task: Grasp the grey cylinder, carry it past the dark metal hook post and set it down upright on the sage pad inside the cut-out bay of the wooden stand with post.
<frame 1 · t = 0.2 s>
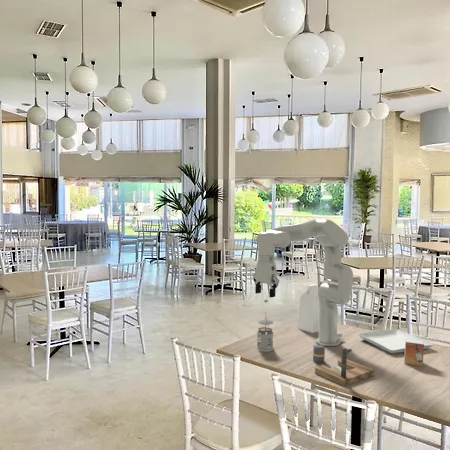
hand: (265, 295, 208), 31 cm above the table, fingers open, 9 cm apart
square plate: (394, 345, 235), on the table
milk: (311, 329, 260), on the table
wooden stand with post: (344, 374, 194), on the table
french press: (265, 347, 227), on the table
grey cylinder: (318, 361, 209), on the table
small box: (413, 363, 209), on the table
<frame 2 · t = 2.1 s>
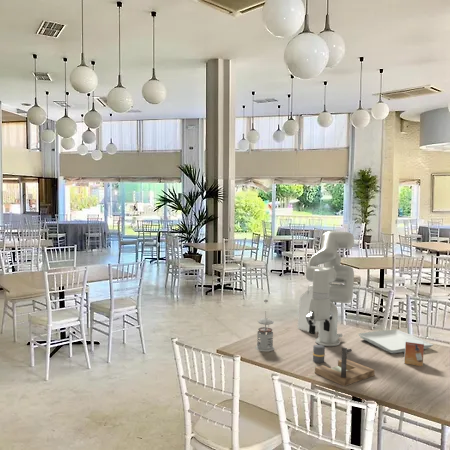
hand: (319, 332, 208), 14 cm above the table, fingers open, 9 cm apart
nothing on the table moved.
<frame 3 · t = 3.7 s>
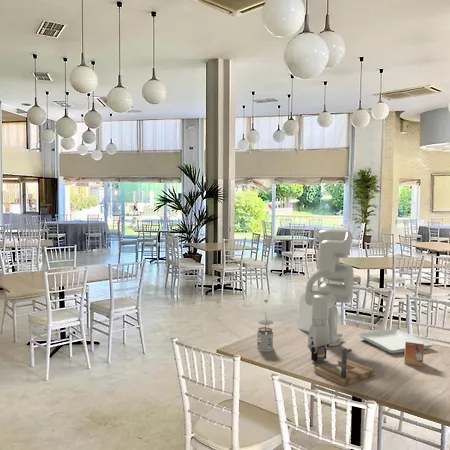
hand: (318, 359, 209), 1 cm above the table, fingers closed on grey cylinder, 5 cm apart
grey cylinder: (318, 361, 209), on the table, touching gripper
everything else where it was.
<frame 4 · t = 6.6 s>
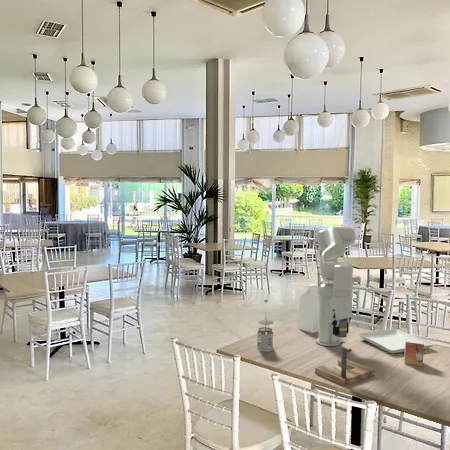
hand: (340, 333, 195), 17 cm above the table, fingers closed on grey cylinder, 5 cm apart
grey cylinder: (340, 335, 195), point 16 cm above the table, touching gripper
everything else where it was.
when the fingers open (3 cm above the table, at t = 9.7 s): grey cylinder drops 1 cm, resting on wooden stand with post.
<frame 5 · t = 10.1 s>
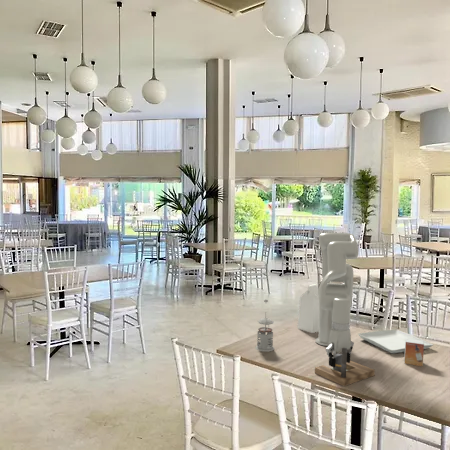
hand: (339, 364, 196), 4 cm above the table, fingers open, 9 cm apart
grey cylinder: (339, 371, 197), resting on wooden stand with post
everything else where it was.
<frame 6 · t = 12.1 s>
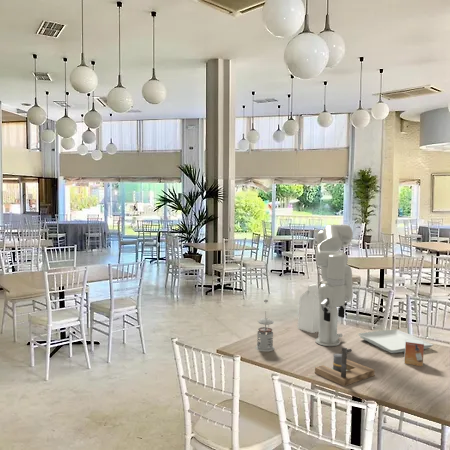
hand: (334, 318, 202), 22 cm above the table, fingers open, 9 cm apart
nothing on the table moved.
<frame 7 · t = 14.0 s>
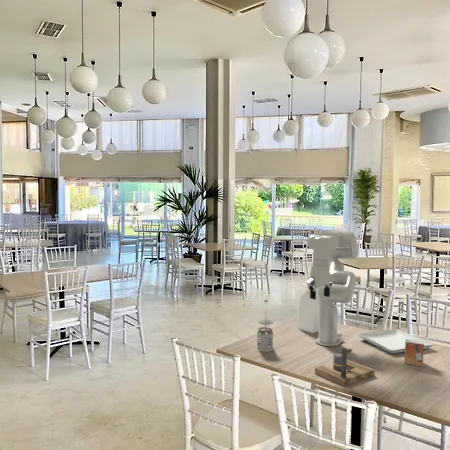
hand: (319, 297, 216), 28 cm above the table, fingers open, 9 cm apart
nothing on the table moved.
at the end: grey cylinder inside the target area (0.4 cm from its centre), resting on wooden stand with post; grey cylinder tilted 0°; the gripper is holding nothing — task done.
